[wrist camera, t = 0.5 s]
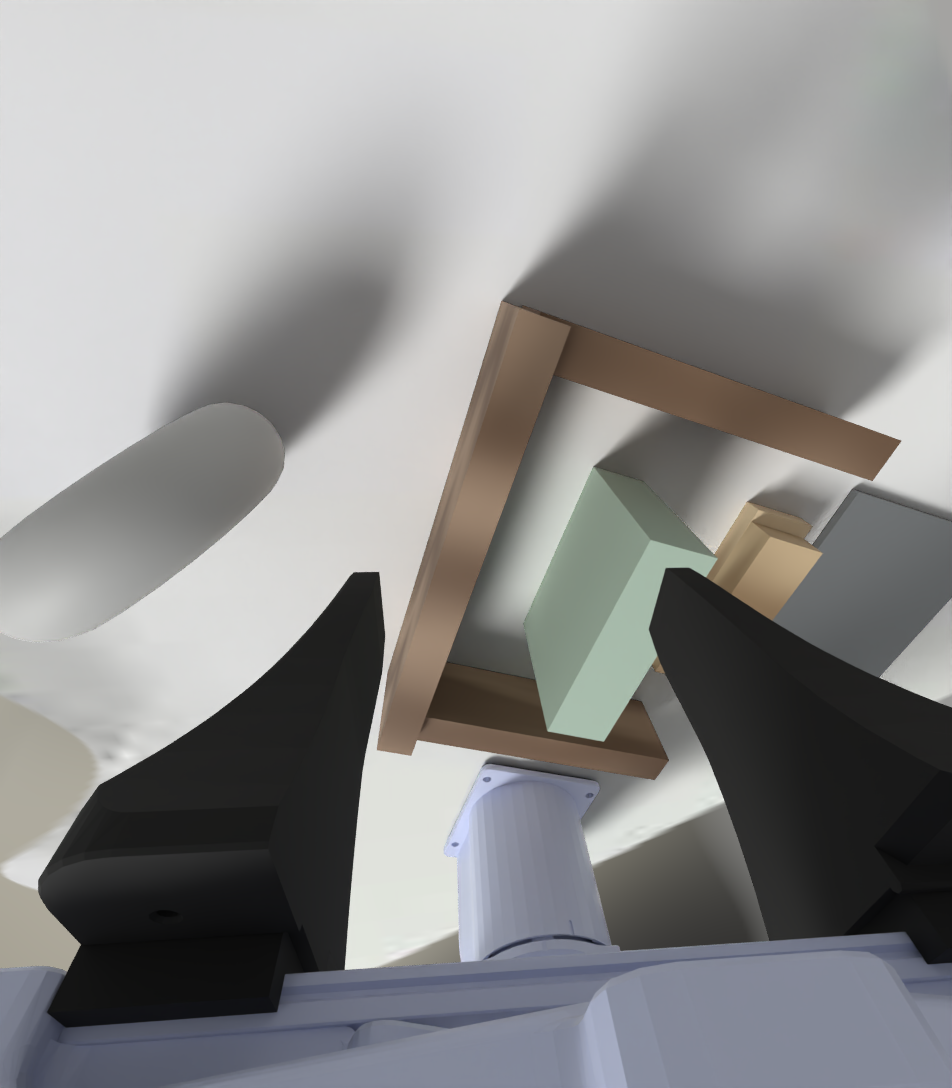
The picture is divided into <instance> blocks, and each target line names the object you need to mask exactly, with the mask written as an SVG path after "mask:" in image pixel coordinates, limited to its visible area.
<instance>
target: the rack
mask: <svg viewBox="0 0 952 1088" xmlns="http://www.w3.org/2000/svg"><path fill="white" fill-rule="evenodd" d="M553 375H555V376H558V377H561V378H564V379H567V380H570V381H573V382H576V383H579V384H582V385H585V386H588V387H591V388H594V389H597V390H600V391H603V392H606V393H609V394H612V395H615V396H618V397H621V398H624V399H627V400H630V401H633V402H636V403H639V404H642V405H645V406H648V407H651V408H654V409H657V410H660V411H663V412H666V413H669V414H672V415H675V416H678V417H681V418H684V419H687V420H690V421H693V422H696V423H699V424H702V425H705V426H708V427H711V428H714V429H718V430H721V431H724V432H727V433H730V434H733V435H736V436H739V437H742V438H745V439H748V440H751V441H754V442H757V443H760V444H763V445H766V446H769V447H772V448H775V449H778V450H781V451H784V452H787V453H790V454H793V455H796V456H799V457H802V458H805V459H808V460H811V461H814V462H817V463H820V464H823V465H826V466H829V467H832V468H835V469H838V470H841V471H844V472H847V473H850V474H853V475H856V476H859V477H862V478H865V479H868V480H871V481H873V479H874V478H875V477H876V475H877V474H878V473H879V471H880V470H881V468H882V467H883V466H884V464H885V463H886V462H887V460H888V459H889V457H890V456H891V455H892V453H893V452H894V451H895V449H896V448H897V446H898V445H899V444H900V442H901V440H898V439H895V438H892V437H889V436H887V435H884V434H881V433H878V432H876V431H873V430H870V429H867V428H865V427H862V426H859V425H856V424H853V423H851V422H848V421H845V420H842V419H840V418H837V417H834V416H831V415H828V414H826V413H823V412H820V411H817V410H814V409H812V408H809V407H806V406H803V405H800V404H798V403H795V402H792V401H789V400H787V399H784V398H781V397H778V396H775V395H773V394H770V393H767V392H764V391H761V390H759V389H756V388H753V387H750V386H747V385H745V384H742V383H739V382H736V381H733V380H731V379H728V378H725V377H722V376H719V375H717V374H714V373H711V372H708V371H705V370H703V369H700V368H697V367H694V366H691V365H689V364H686V363H683V362H680V361H677V360H675V359H672V358H669V357H666V356H663V355H661V354H658V353H655V352H652V351H649V350H647V349H644V348H641V347H638V346H635V345H633V344H630V343H627V342H624V341H622V340H619V339H616V338H613V337H610V336H608V335H605V334H602V333H599V332H596V331H594V330H591V329H588V328H585V327H582V326H580V325H577V324H574V323H571V322H568V321H566V320H563V319H560V318H557V317H554V316H552V315H549V314H546V313H543V312H540V311H538V310H535V309H532V308H529V307H526V306H524V305H522V308H520V307H518V306H515V305H512V304H509V303H506V302H504V301H501V304H500V308H499V311H498V314H497V317H496V321H495V324H494V327H493V330H492V334H491V337H490V340H489V343H488V347H487V350H486V353H485V357H484V360H483V363H482V366H481V370H480V373H479V376H478V379H477V383H476V386H475V389H474V392H473V396H472V399H471V402H470V405H469V409H468V412H467V415H466V419H465V422H464V425H463V428H462V432H461V435H460V438H459V441H458V445H457V448H456V451H455V454H454V458H453V461H452V464H451V468H450V471H449V474H448V477H447V481H446V484H445V487H444V490H443V494H442V497H441V500H440V503H439V507H438V510H437V513H436V516H435V520H434V523H433V526H432V530H431V533H430V536H429V539H428V543H427V546H426V549H425V552H424V556H423V559H422V562H421V565H420V569H419V572H418V575H417V579H416V582H415V585H414V588H413V592H412V595H411V598H410V601H409V605H408V608H407V611H406V614H405V618H404V621H403V624H402V627H401V631H400V634H399V637H398V641H397V644H396V647H395V650H394V654H393V657H392V660H391V663H390V667H389V670H388V674H387V681H386V688H385V695H384V702H383V709H382V716H381V724H380V731H379V738H378V745H377V750H380V751H386V752H392V753H398V754H404V755H412V752H413V749H414V747H415V744H416V741H417V740H420V741H426V742H432V743H438V744H444V745H450V746H456V747H462V748H467V749H473V750H479V751H485V752H491V753H497V754H503V755H509V756H515V757H521V758H527V759H533V760H539V761H545V762H551V763H557V764H563V765H569V766H575V767H581V768H587V769H593V770H598V771H604V772H610V773H616V774H622V775H628V776H634V777H640V778H646V779H652V780H655V779H656V777H657V776H658V775H659V773H660V772H661V771H662V769H663V768H664V766H665V765H666V764H667V762H668V761H669V759H668V757H667V755H666V753H665V751H664V749H663V746H662V744H661V742H660V740H659V738H658V736H657V733H656V731H655V729H654V727H653V725H652V723H651V721H650V718H649V716H648V714H647V712H646V710H645V708H644V705H643V703H642V702H641V701H636V700H631V699H630V700H629V702H628V704H627V705H626V707H625V708H624V710H623V712H622V713H621V715H620V717H619V718H618V720H617V721H616V723H615V725H614V726H613V728H612V729H611V731H610V733H609V734H608V736H607V737H606V739H605V741H604V742H603V741H598V740H592V739H587V738H581V737H576V736H570V735H565V734H559V733H554V732H548V731H547V727H546V723H545V718H544V714H543V709H542V705H541V701H540V696H539V692H538V687H537V683H536V680H532V679H527V678H522V677H517V676H512V675H507V674H502V673H497V672H492V671H487V670H482V669H477V668H472V667H467V666H462V665H458V664H453V663H448V662H446V661H447V658H448V655H449V653H450V650H451V647H452V645H453V642H454V639H455V637H456V634H457V631H458V629H459V626H460V623H461V621H462V618H463V615H464V612H465V610H466V607H467V604H468V602H469V599H470V596H471V594H472V591H473V588H474V586H475V583H476V580H477V578H478V575H479V572H480V570H481V567H482V564H483V562H484V559H485V556H486V553H487V551H488V548H489V545H490V543H491V540H492V537H493V535H494V532H495V529H496V527H497V524H498V521H499V519H500V516H501V513H502V511H503V508H504V505H505V503H506V500H507V497H508V494H509V492H510V489H511V486H512V484H513V481H514V478H515V476H516V473H517V470H518V468H519V465H520V462H521V460H522V457H523V454H524V452H525V449H526V446H527V444H528V441H529V438H530V435H531V433H532V430H533V427H534V425H535V422H536V419H537V417H538V414H539V411H540V409H541V406H542V403H543V401H544V398H545V395H546V393H547V390H548V387H549V385H550V382H551V379H552V376H553Z"/></svg>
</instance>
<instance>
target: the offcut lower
mask: <svg viewBox="0 0 952 1088" xmlns="http://www.w3.org/2000/svg"><path fill="white" fill-rule="evenodd" d="M751 522H755V523H758V524H761V525H764V526H767V527H770V528H773V529H777V530H780V531H783V532H786V533H789V534H792V535H795V536H799V537H802V538H803V539H804V538H805V537H806V535H807V534H808V532H809V531H810V529H811V528H812V527H813V526H811V525H810V524H808V523H807V522H805V521H804V520H803V519H801V518H799V517H796V516H793V515H789V514H786V513H783V512H780V511H776V510H773V509H770V508H767V507H763V506H760V505H757V504H754V503H750V502H747V503H746V504H745V506H744V507H743V509H742V511H741V512H740V514H739V515H738V517H737V519H736V520H735V522H734V524H733V525H732V527H731V528H730V530H729V532H728V533H727V535H726V536H725V538H724V540H723V541H722V543H721V545H720V546H719V548H718V549H717V551H716V553H715V554H714V555H715V556H716V557H717V558H718V559H717V561H716V562H715V564H714V566H713V567H712V569H711V570H710V572H709V574H708V575H707V577H706V578H708V579H709V580H711V581H713V579H714V578H715V576H716V575H717V573H718V572H719V570H720V569H721V567H722V566H723V564H724V563H725V561H726V560H727V558H728V557H729V555H730V553H731V552H732V550H733V549H734V547H735V546H736V544H737V543H738V541H739V540H740V538H741V537H742V535H743V534H744V532H745V531H746V529H747V527H748V526H749V524H750V523H751ZM652 666H653V668H654V670H655V672H659V673H664V674H665V672H664V670H663V668H662V666H661V664H660V661H659V659H658V656H657V657H656V659H655V660H654V662H653V664H652Z"/></svg>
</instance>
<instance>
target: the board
mask: <svg viewBox="0 0 952 1088" xmlns="http://www.w3.org/2000/svg"><path fill="white" fill-rule="evenodd" d="M717 559H718V558H717V557H716V556H715V555H714V554H713V553H712V552H711V551H710V550H709V549H708V548H707V547H706V546H705V545H704V544H703V543H702V542H701V541H700V539H699V538H698V537H697V536H696V535H695V534H694V533H693V532H692V531H691V530H690V529H689V528H688V527H687V526H686V525H685V524H684V523H683V522H682V521H681V520H680V519H679V518H678V517H677V516H676V515H675V514H674V513H673V512H672V511H671V510H670V508H669V507H668V506H667V505H666V504H665V503H664V502H663V501H662V500H661V499H660V498H659V497H658V496H657V495H656V494H655V493H654V492H653V491H652V490H651V489H650V488H649V487H648V486H647V485H646V484H645V483H644V482H643V481H640V480H637V479H633V478H630V477H627V476H623V475H620V474H617V473H613V472H610V471H607V470H603V469H600V468H597V467H593V468H592V471H591V473H590V475H589V477H588V480H587V482H586V484H585V486H584V489H583V491H582V493H581V495H580V498H579V500H578V502H577V504H576V507H575V509H574V511H573V513H572V516H571V518H570V520H569V522H568V525H567V527H566V529H565V531H564V533H563V536H562V538H561V540H560V542H559V545H558V547H557V549H556V551H555V554H554V556H553V558H552V560H551V563H550V565H549V567H548V569H547V572H546V574H545V576H544V578H543V581H542V583H541V585H540V587H539V590H538V592H537V594H536V596H535V599H534V601H533V603H532V605H531V608H530V610H529V612H528V614H527V617H526V619H525V621H524V623H523V625H524V629H525V634H526V638H527V643H528V647H529V652H530V656H531V661H532V665H533V669H534V674H535V678H536V683H537V687H538V692H539V696H540V701H541V705H542V709H543V714H544V718H545V723H546V727H547V731H548V732H554V733H559V734H565V735H570V736H576V737H581V738H587V739H592V740H598V741H603V742H604V741H605V739H606V737H607V736H608V734H609V733H610V731H611V729H612V728H613V726H614V725H615V723H616V721H617V720H618V718H619V717H620V715H621V713H622V712H623V710H624V708H625V707H626V705H627V704H628V702H629V700H630V699H631V697H632V696H633V694H634V692H635V691H636V689H637V688H638V686H639V684H640V683H641V681H642V680H643V678H644V676H645V675H646V673H647V672H648V670H649V668H650V667H651V665H652V664H653V662H654V660H655V659H656V657H657V653H656V650H655V647H654V644H653V641H652V638H651V635H650V632H649V626H650V622H651V619H652V615H653V612H654V608H655V604H656V601H657V597H658V594H659V590H660V586H661V583H662V579H663V576H664V572H665V569H666V568H691V569H693V570H694V571H696V572H698V573H700V574H701V575H703V576H704V577H707V575H708V574H709V572H710V570H711V569H712V567H713V566H714V564H715V562H716V561H717Z"/></svg>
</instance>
